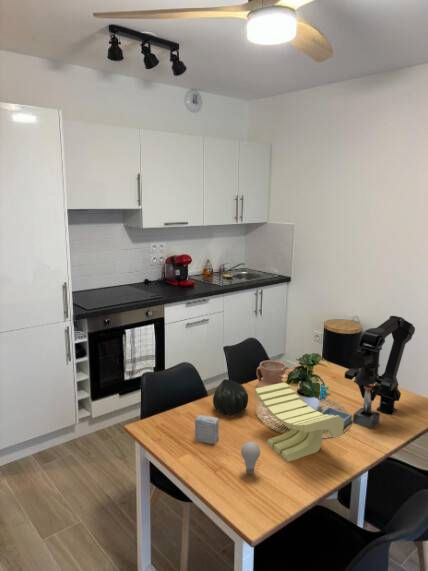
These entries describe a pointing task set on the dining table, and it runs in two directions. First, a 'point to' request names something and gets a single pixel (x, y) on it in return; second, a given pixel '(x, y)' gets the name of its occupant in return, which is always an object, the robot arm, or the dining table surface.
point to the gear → (323, 389)
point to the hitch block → (366, 418)
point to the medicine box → (207, 429)
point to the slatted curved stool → (296, 422)
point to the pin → (368, 398)
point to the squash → (230, 398)
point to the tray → (343, 415)
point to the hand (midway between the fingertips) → (367, 399)
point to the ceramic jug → (271, 373)
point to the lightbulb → (250, 455)
